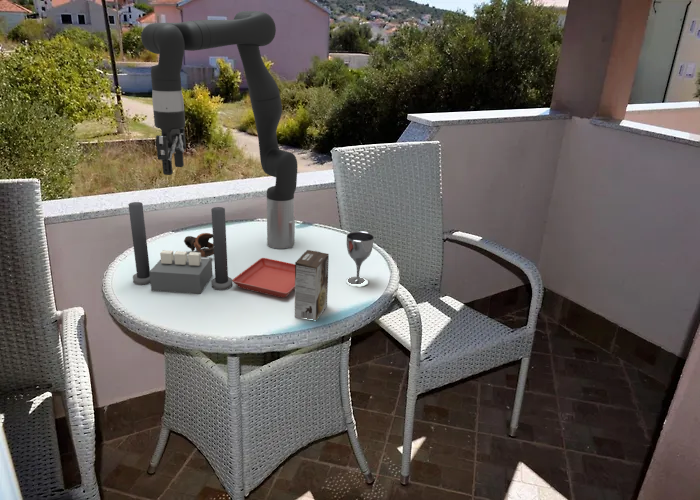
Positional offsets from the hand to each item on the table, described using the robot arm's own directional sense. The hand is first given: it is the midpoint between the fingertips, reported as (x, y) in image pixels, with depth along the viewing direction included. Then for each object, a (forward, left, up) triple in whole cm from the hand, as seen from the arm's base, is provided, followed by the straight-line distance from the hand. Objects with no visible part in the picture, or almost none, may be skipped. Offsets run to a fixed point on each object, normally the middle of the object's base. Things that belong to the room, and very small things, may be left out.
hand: (173, 170), depth 139 cm
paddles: (0, 0, -27) cm, 27 cm away
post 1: (+12, 0, -34) cm, 36 cm away
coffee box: (-39, +12, -34) cm, 53 cm away
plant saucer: (-26, -4, -34) cm, 43 cm away
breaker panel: (0, 0, -34) cm, 34 cm away
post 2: (-11, 0, -34) cm, 35 cm away
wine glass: (-51, -8, -34) cm, 62 cm away
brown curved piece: (+1, -22, -34) cm, 40 cm away
